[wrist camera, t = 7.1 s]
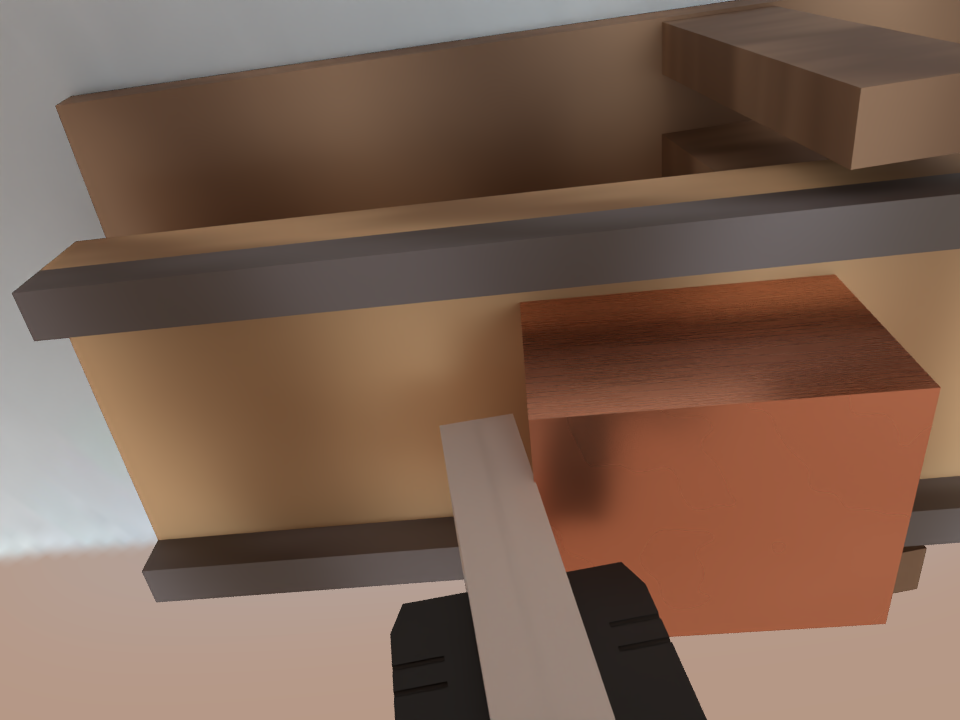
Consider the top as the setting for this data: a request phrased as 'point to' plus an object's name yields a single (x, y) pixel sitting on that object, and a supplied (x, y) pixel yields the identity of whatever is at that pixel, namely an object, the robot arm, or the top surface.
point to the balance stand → (531, 116)
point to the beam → (442, 348)
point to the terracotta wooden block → (730, 448)
